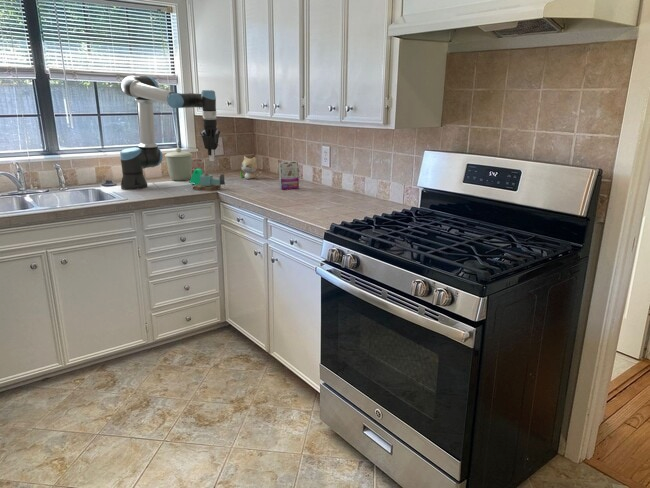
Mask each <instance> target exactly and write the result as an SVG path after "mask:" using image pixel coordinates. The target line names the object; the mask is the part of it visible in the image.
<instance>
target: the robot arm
mask: <svg viewBox="0 0 650 488" xmlns="http://www.w3.org/2000/svg"><path fill="white" fill-rule="evenodd" d="M120 85H121V90H122V91H123V93H124V94H125V95H126V96H128V97H132V98H134V100H135V102H136V103H137V110H138V123H139V124H138V126H139V139H140V141H139V142H140V143H139V144H138V145H137V147H128V148H125V149H122V150H120V157H119V158H120V164H121V172H122V177H121V181H120V182H121V183H120V188H121V190H128V191H131V190H143V189H147V188H148V182H147V180H146V178H145V175H144V169H151V168H155V167H158V166H160V164H161V163H162V161H163V158H164V156H163V152H162V150H161V149H160V148H159V146H158V144H157V143H156V133H155V120H154V119H155V114H154V102H157V103H161V104H164V105H168V106H169V107H170V108H173V109H186V108H187V109H188V108H201V109H202V121H203V122H202V125H203V130H202V131H200V135H201V138H202V141H203V142H202V143H203V147H204V149H206V150H207V155H208V159H209V160H208V161H210V162H215V155H216V154H215V150H217V149H218V146H219V138H220V134H221V131H220V130H218V128H217V126H218V121H217V101H216V100H217V96H216V91H215V90H212V89H211V90H209V89H205V90H201V93H193V92H192V93H191V92H189V93H180V92H176V91H171V90H168V89H164V88H162V87H161V88H160V87H159V83H158V82H157V81H156V79H155V78H153V77H151V76H147V75H146V76H145V75H128V76H126V77H124V79H122V81H121V84H120Z"/></svg>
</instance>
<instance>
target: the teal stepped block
mask: <svg viewBox="0 0 650 488" xmlns="http://www.w3.org/2000/svg"><path fill="white" fill-rule="evenodd" d="M212 184H215V185H222V186H223V185H226V183H225V174H224V173H219V174H218V178H214V175H213V174H208V176H204V174H202V176H200V186H211V185H212Z"/></svg>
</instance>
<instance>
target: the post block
mask: <svg viewBox="0 0 650 488" xmlns="http://www.w3.org/2000/svg"><path fill="white" fill-rule="evenodd" d="M203 175H204V176H208V175H209V172H208V171H205V172H203ZM221 188H222V186H221V185H215V184H212V185H211V186H200V184H197V185H194V186H192V191H212V192H213V191H214V192H215V191H217V190H219V189H221Z"/></svg>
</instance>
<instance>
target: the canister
mask: <svg viewBox="0 0 650 488" xmlns="http://www.w3.org/2000/svg"><path fill="white" fill-rule="evenodd" d="M193 156H194V153H192V152H190V151H182V148H181V147H176V148H175V151H172V152H171V151H170V152H167V153H166V154H164V156H163V157H165V159H166V160H165V161H166V166H167V171H168V174H169V178H170V179H171V180H172V181H176V182H177V181H178V182H180V181H181V182H182V181H188V180H189V181H190V179H191V177H192V174H193V173H192V172H193V169H192V168H193Z"/></svg>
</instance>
